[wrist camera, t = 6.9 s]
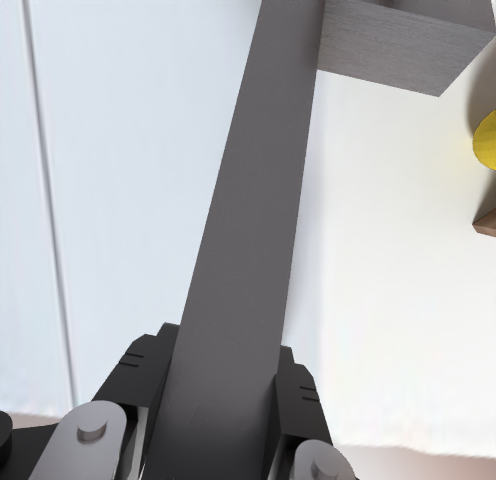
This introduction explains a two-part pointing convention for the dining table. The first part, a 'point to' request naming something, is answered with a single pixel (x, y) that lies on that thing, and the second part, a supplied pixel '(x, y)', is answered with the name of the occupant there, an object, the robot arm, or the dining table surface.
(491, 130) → the lemon
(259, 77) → the crook tool
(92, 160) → the dining table surface
